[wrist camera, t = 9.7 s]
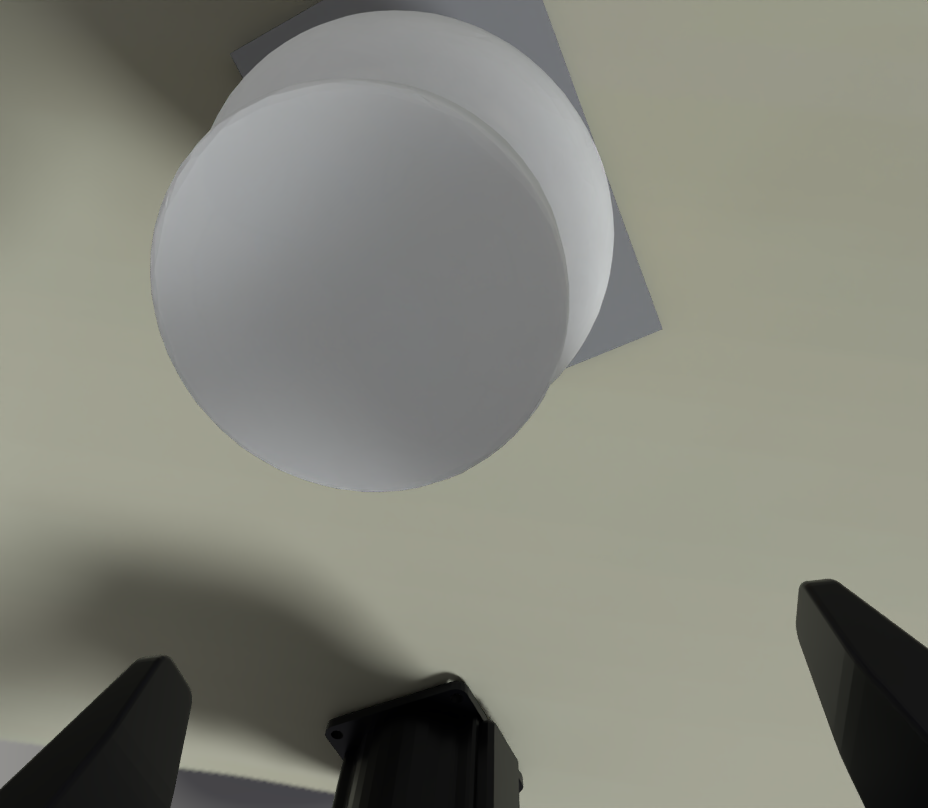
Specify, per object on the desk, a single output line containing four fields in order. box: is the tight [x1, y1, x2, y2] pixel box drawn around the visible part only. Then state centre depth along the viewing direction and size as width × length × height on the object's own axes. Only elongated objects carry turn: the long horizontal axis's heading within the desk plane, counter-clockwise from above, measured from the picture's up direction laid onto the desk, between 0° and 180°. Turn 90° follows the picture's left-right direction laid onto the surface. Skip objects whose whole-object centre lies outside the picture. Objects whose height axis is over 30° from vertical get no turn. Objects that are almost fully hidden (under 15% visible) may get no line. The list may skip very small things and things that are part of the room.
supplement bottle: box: [150, 10, 614, 492], centre depth 13 cm, size 7×7×13 cm
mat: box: [230, 0, 662, 368], centre depth 19 cm, size 8×12×1 cm, turn 25°
